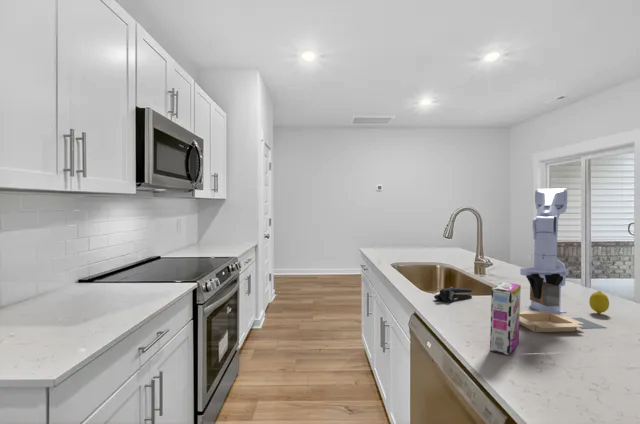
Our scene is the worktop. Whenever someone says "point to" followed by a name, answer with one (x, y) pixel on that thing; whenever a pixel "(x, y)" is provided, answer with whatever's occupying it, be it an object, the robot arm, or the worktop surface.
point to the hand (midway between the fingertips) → (543, 298)
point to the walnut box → (547, 295)
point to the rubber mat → (588, 324)
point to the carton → (547, 321)
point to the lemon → (599, 302)
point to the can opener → (452, 294)
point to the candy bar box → (505, 318)
